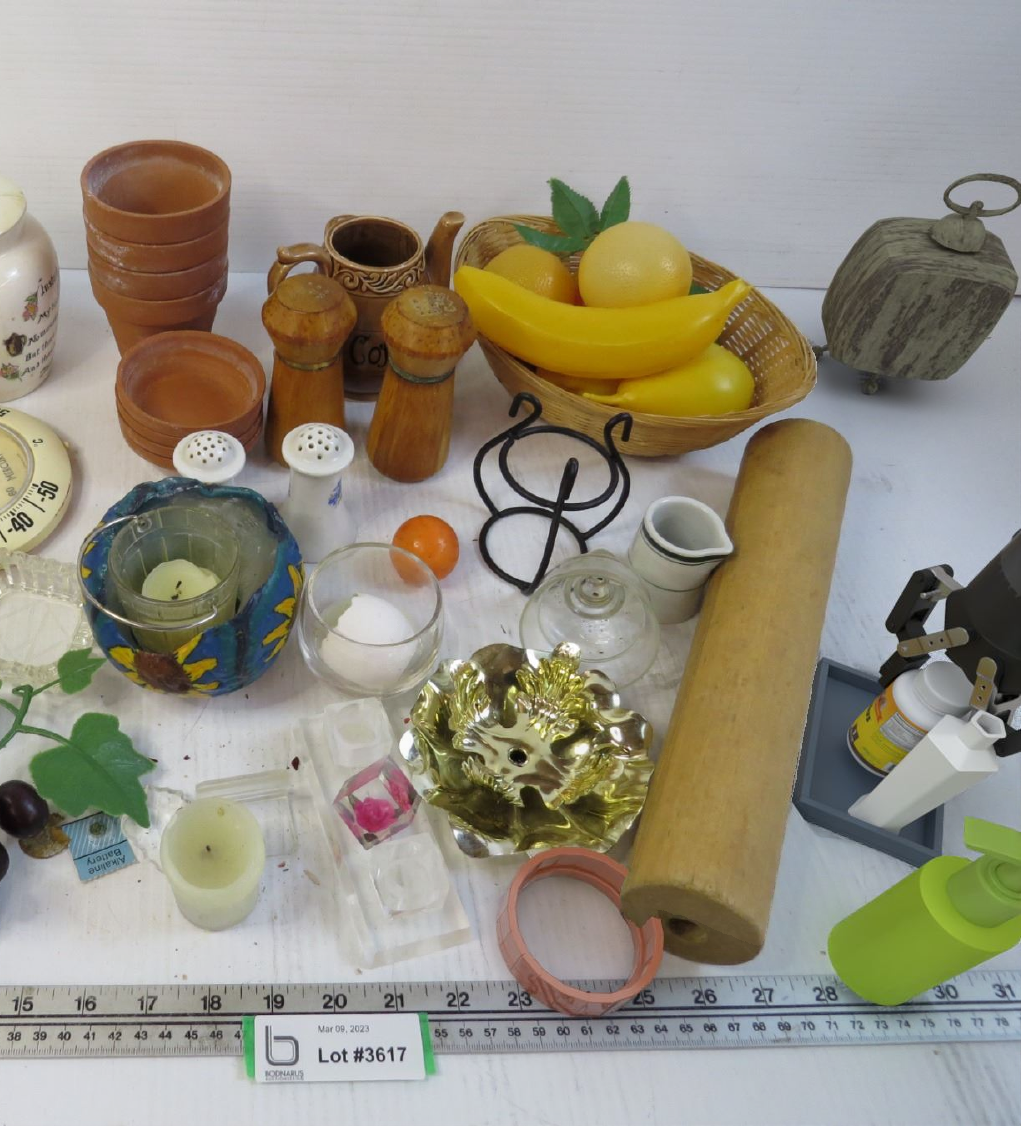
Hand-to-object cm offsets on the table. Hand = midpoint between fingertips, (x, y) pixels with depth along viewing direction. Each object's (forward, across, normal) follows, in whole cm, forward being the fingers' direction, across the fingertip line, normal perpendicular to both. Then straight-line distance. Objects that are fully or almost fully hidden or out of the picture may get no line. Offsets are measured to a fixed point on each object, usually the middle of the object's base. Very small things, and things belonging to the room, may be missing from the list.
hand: (917, 715), depth 73 cm
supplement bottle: (+6, 0, 0) cm, 6 cm away
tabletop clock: (+8, +41, -33) cm, 53 cm away
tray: (+8, 0, 0) cm, 8 cm away
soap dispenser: (+8, -13, +12) cm, 19 cm away
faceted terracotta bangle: (+8, -6, +31) cm, 33 cm away
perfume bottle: (+8, -4, +3) cm, 9 cm away
